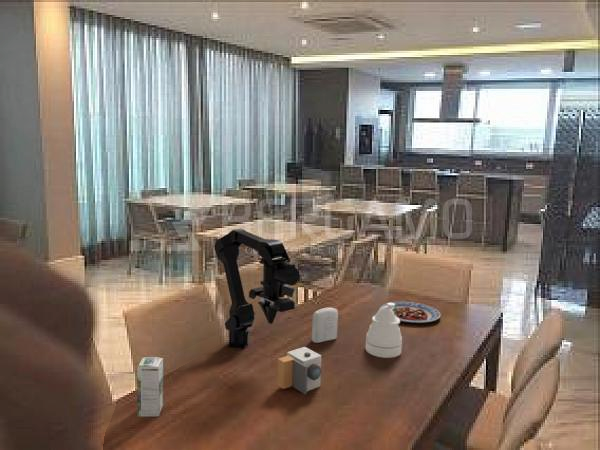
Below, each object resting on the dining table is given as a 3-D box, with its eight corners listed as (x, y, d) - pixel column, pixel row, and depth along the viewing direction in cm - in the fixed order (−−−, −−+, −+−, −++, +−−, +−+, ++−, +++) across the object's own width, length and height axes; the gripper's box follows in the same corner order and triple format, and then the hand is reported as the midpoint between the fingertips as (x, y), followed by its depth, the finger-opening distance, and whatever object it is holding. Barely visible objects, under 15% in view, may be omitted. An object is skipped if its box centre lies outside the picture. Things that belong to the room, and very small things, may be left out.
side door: (277, 385, 151) (278, 358, 150) (287, 381, 154) (288, 355, 152) (295, 397, 144) (296, 369, 143) (306, 393, 147) (307, 366, 146)
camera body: (285, 382, 155) (286, 350, 153) (303, 376, 160) (304, 344, 158) (306, 395, 148) (307, 362, 146) (324, 388, 152) (325, 356, 150)
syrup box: (142, 406, 139) (141, 356, 137) (163, 405, 140) (163, 356, 137) (137, 417, 133) (136, 366, 131) (160, 417, 134) (159, 366, 132)
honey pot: (408, 350, 182) (411, 303, 179) (388, 361, 173) (391, 311, 170) (378, 340, 191) (381, 294, 188) (358, 349, 182) (361, 301, 178)
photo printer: (331, 335, 194) (333, 304, 192) (338, 339, 190) (340, 307, 188) (309, 340, 188) (311, 308, 186) (316, 344, 185) (317, 312, 183)
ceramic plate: (447, 314, 223) (448, 307, 223) (428, 331, 202) (429, 324, 201) (393, 302, 237) (393, 296, 236) (370, 317, 215) (370, 311, 214)
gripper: (308, 281, 164) (306, 327, 166) (274, 268, 178) (273, 311, 180) (281, 287, 157) (280, 334, 159) (248, 273, 171) (247, 317, 173)
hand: (270, 323), depth 168 cm, fingers closed
